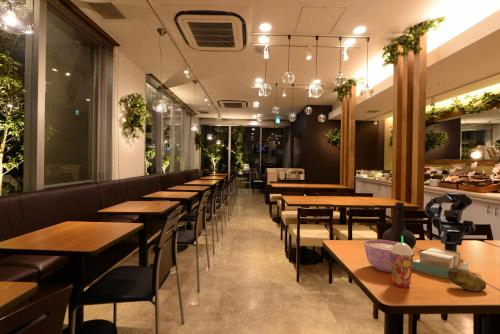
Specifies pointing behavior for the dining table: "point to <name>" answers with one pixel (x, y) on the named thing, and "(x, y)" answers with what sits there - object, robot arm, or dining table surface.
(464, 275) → the potato
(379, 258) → the bowl of food
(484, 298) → the dining table surface
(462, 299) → the dining table surface
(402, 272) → the smoothie
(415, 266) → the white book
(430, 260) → the metallic block
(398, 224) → the glass bottle
